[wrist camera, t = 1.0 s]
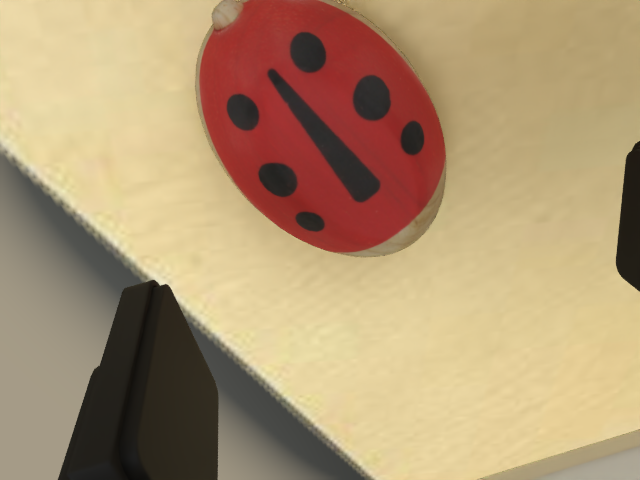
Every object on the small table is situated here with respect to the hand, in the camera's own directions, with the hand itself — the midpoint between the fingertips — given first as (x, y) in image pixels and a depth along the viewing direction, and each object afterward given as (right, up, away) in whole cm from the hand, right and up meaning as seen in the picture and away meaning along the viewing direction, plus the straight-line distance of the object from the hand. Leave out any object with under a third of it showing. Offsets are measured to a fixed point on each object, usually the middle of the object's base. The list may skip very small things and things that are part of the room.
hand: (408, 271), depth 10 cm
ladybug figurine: (-2, +4, +7) cm, 8 cm away
